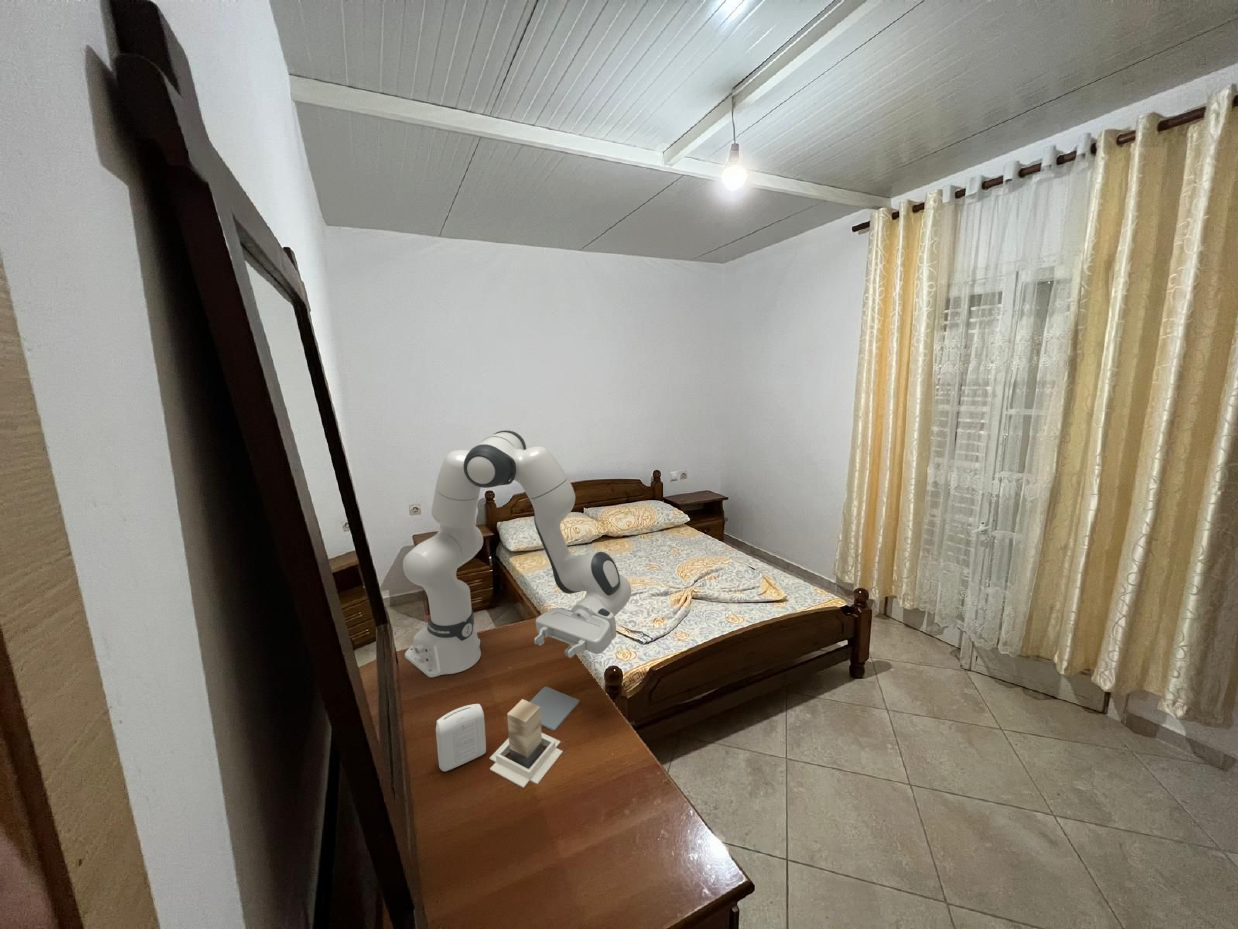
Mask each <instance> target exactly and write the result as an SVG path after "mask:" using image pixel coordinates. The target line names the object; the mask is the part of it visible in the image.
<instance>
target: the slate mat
mask: <svg viewBox="0 0 1238 929" xmlns="http://www.w3.org/2000/svg"><path fill="white" fill-rule="evenodd" d="M529 702H530V703H533V704H535V705H537V706H540V710H541V727H544V728H545V729H547V730H550V731H552V732H556V730H557V729H558V728H559V727H560V726H561V725H562V723H563V722H564V721H565V720H566V719H567V717H568V716H569V715H570V714H571V713H572V711H574V709H575V708H576V707H577V706H578V704H580V702H581V701H580V699H577V698H575V697H573V696H570V695H568V694H565V693H563V692H560V691H558V690H556V689H553V688H551V687H548V686H544V687H543V688H541V690H539V692H538V693H536V694H535V696H533V697H532V699H531V700H529Z"/></svg>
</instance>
